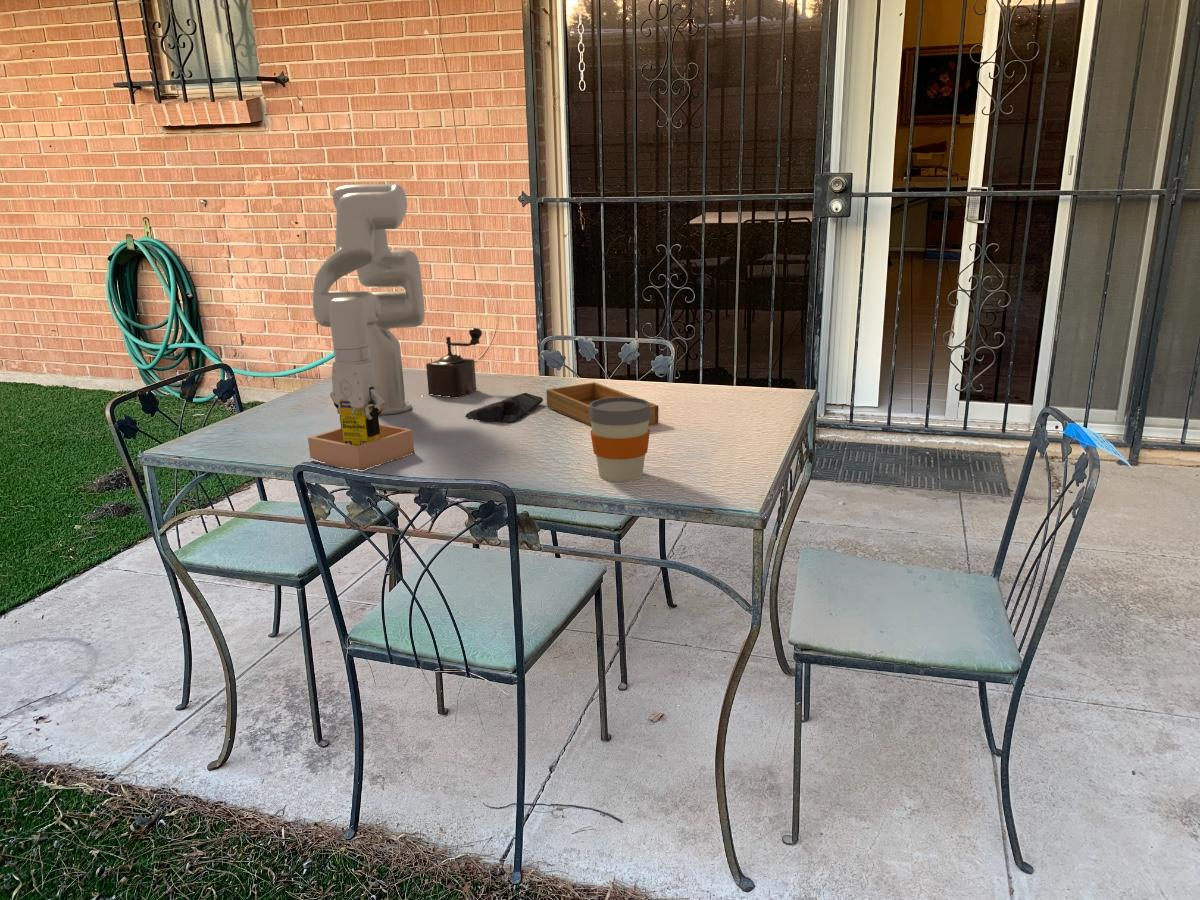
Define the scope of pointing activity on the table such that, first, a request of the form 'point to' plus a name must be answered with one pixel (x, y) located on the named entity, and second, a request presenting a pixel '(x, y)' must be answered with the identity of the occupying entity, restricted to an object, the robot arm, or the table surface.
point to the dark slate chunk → (506, 409)
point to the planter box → (361, 448)
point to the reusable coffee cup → (620, 436)
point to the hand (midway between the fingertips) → (360, 432)
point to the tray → (586, 400)
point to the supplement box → (354, 424)
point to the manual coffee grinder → (453, 371)
